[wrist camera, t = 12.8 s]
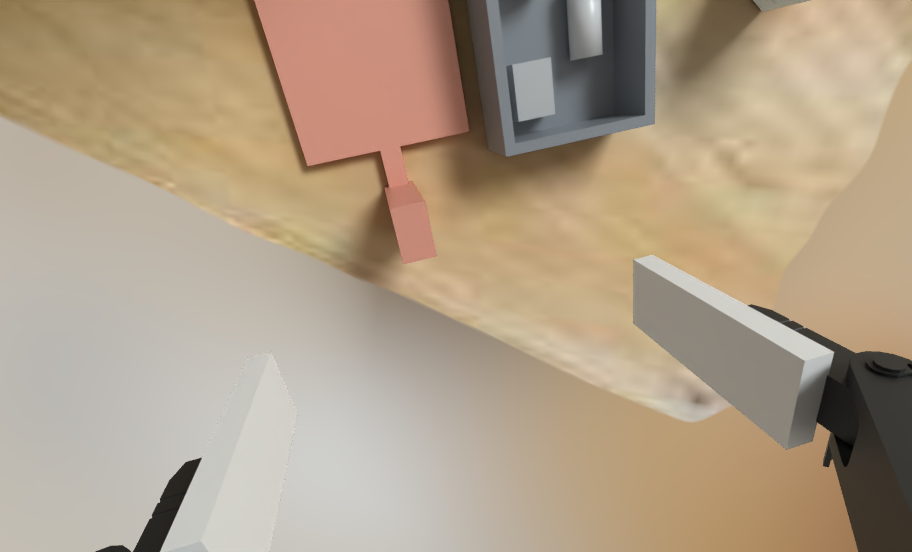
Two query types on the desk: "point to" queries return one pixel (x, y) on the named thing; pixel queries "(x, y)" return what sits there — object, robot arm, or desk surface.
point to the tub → (562, 69)
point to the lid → (370, 88)
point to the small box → (775, 4)
